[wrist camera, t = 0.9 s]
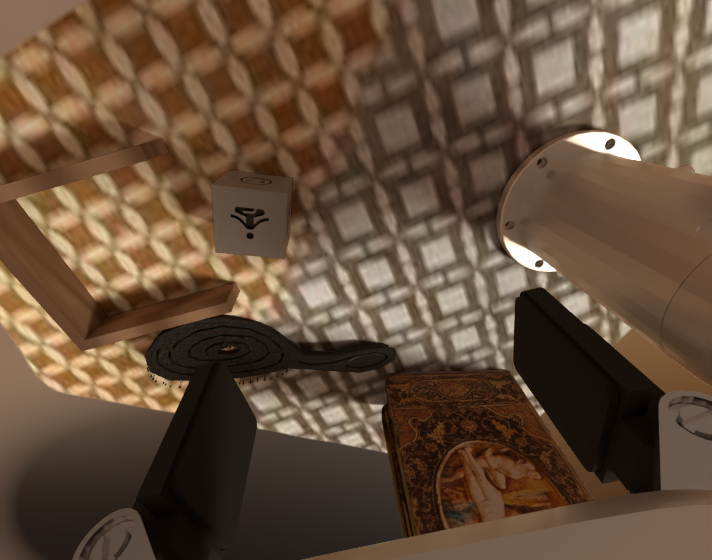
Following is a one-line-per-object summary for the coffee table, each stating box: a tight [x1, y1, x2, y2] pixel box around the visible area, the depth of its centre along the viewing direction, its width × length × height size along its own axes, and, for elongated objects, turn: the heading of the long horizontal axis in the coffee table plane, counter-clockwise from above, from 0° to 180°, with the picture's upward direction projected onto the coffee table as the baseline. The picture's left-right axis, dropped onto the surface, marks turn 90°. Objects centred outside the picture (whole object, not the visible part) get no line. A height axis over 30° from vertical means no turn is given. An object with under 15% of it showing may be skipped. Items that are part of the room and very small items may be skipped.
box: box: [0, 139, 240, 351], centre depth 27 cm, size 14×14×4 cm
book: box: [382, 370, 595, 539], centre depth 30 cm, size 16×6×25 cm, turn 87°
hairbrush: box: [145, 315, 396, 388], centre depth 35 cm, size 8×4×25 cm
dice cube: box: [211, 170, 293, 259], centre depth 26 cm, size 5×5×5 cm
